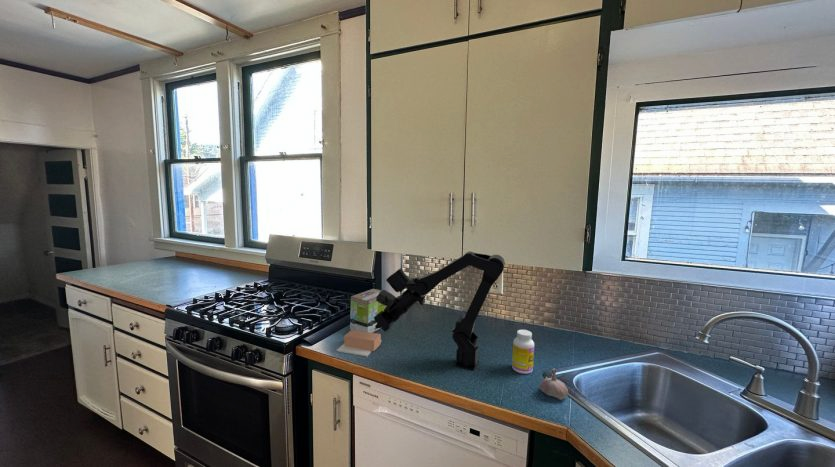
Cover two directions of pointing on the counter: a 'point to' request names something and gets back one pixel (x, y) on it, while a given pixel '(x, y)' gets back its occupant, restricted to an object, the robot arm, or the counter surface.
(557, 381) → the garlic bulb
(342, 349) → the mat
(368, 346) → the block
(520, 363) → the supplement bottle
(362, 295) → the tea box
